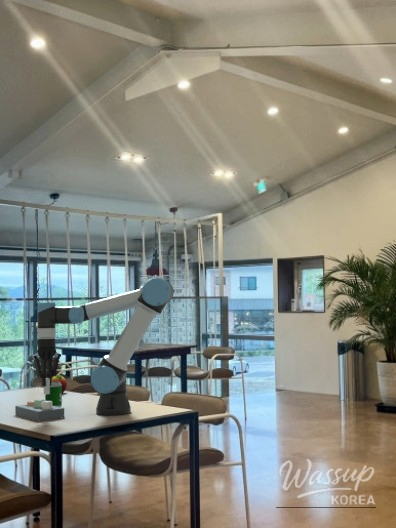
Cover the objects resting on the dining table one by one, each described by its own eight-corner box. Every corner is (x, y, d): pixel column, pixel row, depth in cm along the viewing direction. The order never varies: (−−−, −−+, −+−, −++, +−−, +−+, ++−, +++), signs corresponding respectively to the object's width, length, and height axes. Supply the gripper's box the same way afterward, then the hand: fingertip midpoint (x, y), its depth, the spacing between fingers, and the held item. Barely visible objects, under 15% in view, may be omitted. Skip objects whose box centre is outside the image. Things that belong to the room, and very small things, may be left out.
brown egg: (39, 413, 288) (39, 401, 288) (29, 414, 285) (29, 403, 286) (34, 412, 291) (34, 400, 292) (25, 413, 289) (25, 402, 289)
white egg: (54, 413, 277) (54, 401, 278) (44, 414, 275) (44, 402, 275) (49, 412, 281) (49, 400, 281) (39, 413, 278) (39, 401, 278)
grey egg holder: (64, 417, 278) (64, 408, 279) (38, 421, 271) (38, 411, 271) (40, 411, 295) (40, 402, 295) (15, 415, 288) (15, 405, 288)
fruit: (61, 391, 366) (60, 373, 367) (70, 393, 358) (70, 374, 359) (43, 393, 360) (43, 375, 360) (52, 395, 351) (52, 376, 352)
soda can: (57, 409, 300) (57, 383, 301) (42, 409, 302) (42, 383, 303) (64, 407, 308) (64, 381, 308) (49, 407, 309) (49, 381, 310)
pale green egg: (46, 411, 283) (46, 400, 283) (37, 412, 280) (37, 401, 280) (41, 410, 286) (41, 399, 286) (32, 411, 283) (32, 400, 284)
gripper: (56, 337, 287) (56, 391, 286) (28, 338, 279) (28, 394, 277) (64, 337, 281) (64, 393, 280) (36, 339, 273) (36, 396, 271)
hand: (46, 393), depth 278 cm, fingers closed
